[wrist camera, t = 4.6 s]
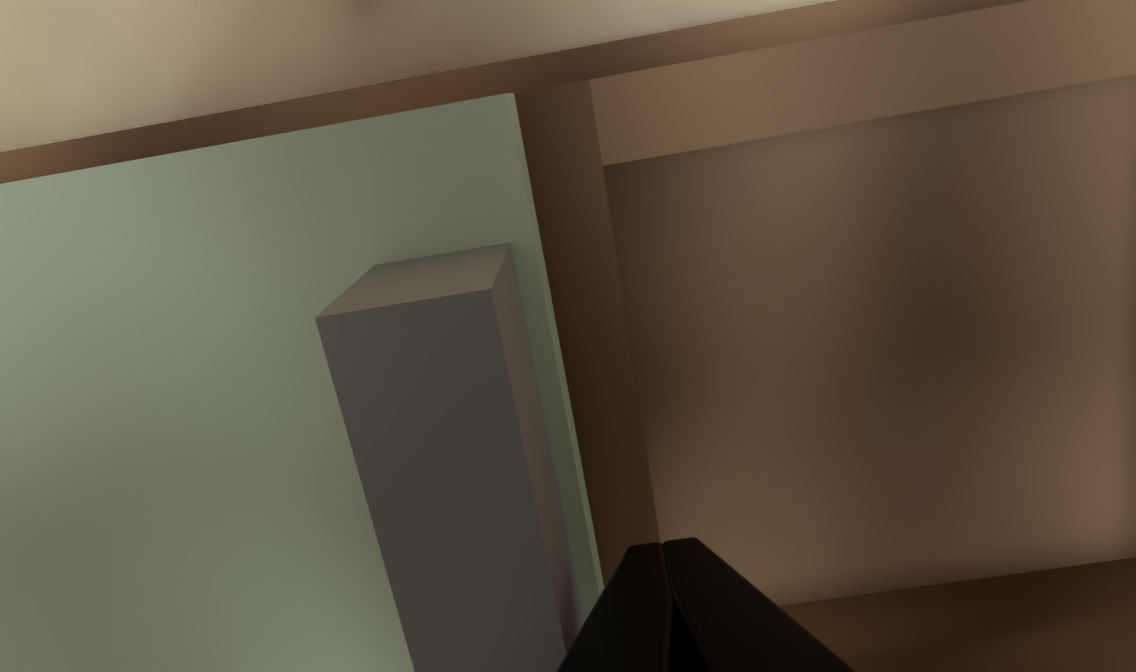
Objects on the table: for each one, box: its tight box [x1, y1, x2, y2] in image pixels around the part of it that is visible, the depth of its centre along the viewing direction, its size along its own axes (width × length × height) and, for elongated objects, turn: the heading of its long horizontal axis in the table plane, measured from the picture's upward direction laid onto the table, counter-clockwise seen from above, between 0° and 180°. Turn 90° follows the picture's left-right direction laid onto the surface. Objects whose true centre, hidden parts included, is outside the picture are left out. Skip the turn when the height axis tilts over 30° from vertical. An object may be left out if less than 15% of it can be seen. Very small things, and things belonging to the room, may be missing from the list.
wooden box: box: [0, 0, 1136, 672], centre depth 13 cm, size 23×12×4 cm, turn 100°
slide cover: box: [0, 93, 604, 672], centre depth 9 cm, size 11×11×3 cm
